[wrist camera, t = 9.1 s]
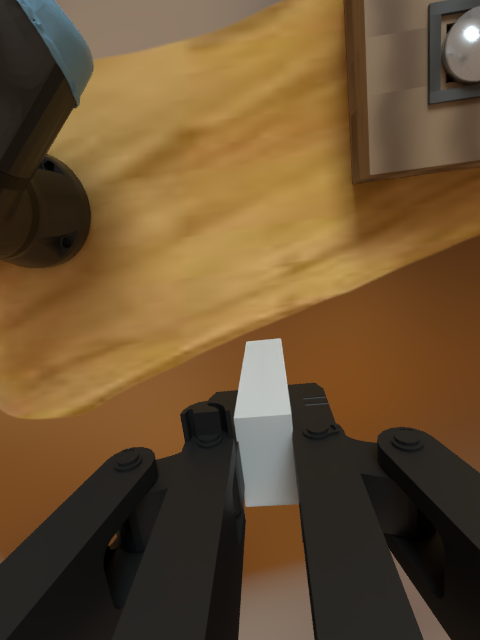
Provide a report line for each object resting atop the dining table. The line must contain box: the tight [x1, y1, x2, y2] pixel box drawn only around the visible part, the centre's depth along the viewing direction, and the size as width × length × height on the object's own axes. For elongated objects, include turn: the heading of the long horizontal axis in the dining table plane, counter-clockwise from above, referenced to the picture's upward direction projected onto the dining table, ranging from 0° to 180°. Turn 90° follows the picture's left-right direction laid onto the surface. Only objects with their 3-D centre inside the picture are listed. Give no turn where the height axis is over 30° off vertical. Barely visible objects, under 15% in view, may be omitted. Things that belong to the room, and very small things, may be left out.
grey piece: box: [441, 6, 480, 85], centre depth 37 cm, size 6×6×8 cm
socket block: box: [344, 0, 480, 184], centre depth 38 cm, size 20×20×8 cm
